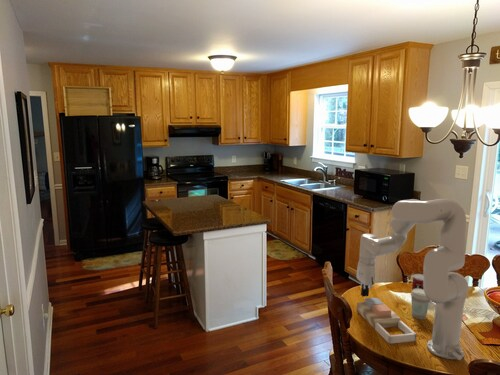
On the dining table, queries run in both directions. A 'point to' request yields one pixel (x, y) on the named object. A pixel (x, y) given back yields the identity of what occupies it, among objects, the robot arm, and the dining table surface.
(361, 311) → the birch plate
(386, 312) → the tile terracotta
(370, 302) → the tile slate
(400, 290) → the dining table surface
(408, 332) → the box
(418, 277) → the canned food
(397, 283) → the dining table surface
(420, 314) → the coffee cup
